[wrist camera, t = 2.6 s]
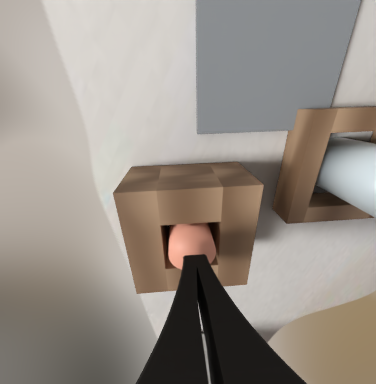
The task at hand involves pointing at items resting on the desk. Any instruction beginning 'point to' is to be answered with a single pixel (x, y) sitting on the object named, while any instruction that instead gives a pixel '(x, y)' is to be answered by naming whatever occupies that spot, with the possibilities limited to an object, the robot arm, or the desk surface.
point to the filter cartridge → (350, 172)
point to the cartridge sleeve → (316, 164)
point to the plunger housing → (188, 218)
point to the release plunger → (190, 242)
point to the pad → (267, 60)
